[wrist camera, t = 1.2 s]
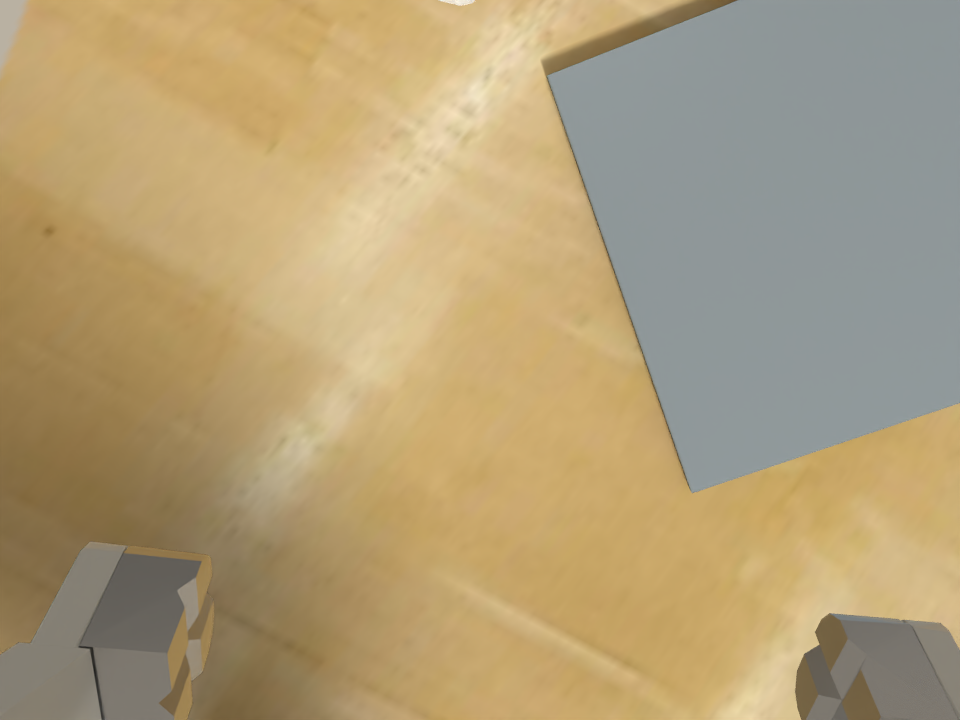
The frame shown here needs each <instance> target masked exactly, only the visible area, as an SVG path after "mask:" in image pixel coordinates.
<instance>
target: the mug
mask: <svg viewBox="0 0 960 720" xmlns="http://www.w3.org/2000/svg"><path fill="white" fill-rule="evenodd" d="M439 1H442V2H446V3H451V4H455V5H459V6H461V5H466V4H471V3H473V2H474V1H475V0H439Z"/></svg>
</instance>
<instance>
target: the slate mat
mask: <svg viewBox="0 0 960 720" xmlns="http://www.w3.org/2000/svg"><path fill="white" fill-rule="evenodd" d="M547 79H548V82H549V85H550V88H551V90H552V93H553V96H554V99H555V102H556V105H557V108H558V111H559V113H560V116H561V119H562V122H563V125H564V128H565V131H566V134H567V137H568V139H569V142H570V145H571V148H572V151H573V154H574V157H575V160H576V163H577V165H578V168H579V171H580V174H581V177H582V180H583V183H584V186H585V188H586V191H587V194H588V197H589V200H590V203H591V206H592V209H593V212H594V214H595V217H596V220H597V223H598V226H599V229H600V232H601V235H602V237H603V240H604V243H605V246H606V249H607V252H608V255H609V258H610V261H611V263H612V266H613V269H614V272H615V275H616V278H617V281H618V284H619V286H620V289H621V292H622V295H623V298H624V301H625V304H626V307H627V310H628V312H629V315H630V318H631V321H632V324H633V327H634V330H635V333H636V335H637V338H638V341H639V344H640V347H641V350H642V353H643V356H644V359H645V361H646V364H647V367H648V370H649V373H650V376H651V379H652V382H653V384H654V387H655V390H656V393H657V396H658V399H659V402H660V405H661V408H662V410H663V413H664V416H665V419H666V422H667V425H668V428H669V431H670V434H671V436H672V439H673V442H674V445H675V448H676V451H677V454H678V457H679V459H680V462H681V465H682V468H683V471H684V474H685V477H686V480H687V483H688V485H689V488H690V490H691V492H692V493H694V492H697V491H700V490H703V489H706V488H709V487H712V486H715V485H718V484H721V483H724V482H727V481H730V480H733V479H736V478H739V477H742V476H745V475H748V474H751V473H754V472H757V471H760V470H763V469H766V468H768V467H771V466H774V465H777V464H780V463H783V462H786V461H789V460H792V459H795V458H798V457H801V456H804V455H807V454H810V453H813V452H816V451H819V450H822V449H825V448H828V447H831V446H834V445H837V444H840V443H843V442H846V441H849V440H852V439H854V438H857V437H860V436H863V435H866V434H869V433H872V432H875V431H878V430H881V429H884V428H887V427H890V426H893V425H896V424H899V423H902V422H905V421H908V420H911V419H914V418H917V417H920V416H923V415H926V414H929V413H932V412H935V411H938V410H941V409H943V408H946V407H949V406H952V405H955V404H958V403H960V0H737V1H735V2H732V3H730V4H727V5H725V6H722V7H720V8H717V9H715V10H712V11H710V12H707V13H705V14H702V15H699V16H697V17H694V18H692V19H689V20H687V21H684V22H682V23H679V24H677V25H674V26H672V27H669V28H666V29H664V30H661V31H659V32H656V33H654V34H651V35H649V36H646V37H644V38H641V39H639V40H636V41H634V42H631V43H628V44H626V45H623V46H621V47H618V48H616V49H613V50H611V51H608V52H606V53H603V54H601V55H598V56H595V57H593V58H590V59H588V60H585V61H583V62H580V63H578V64H575V65H573V66H570V67H568V68H565V69H563V70H560V71H557V72H555V73H552V74H550V75H547Z"/></svg>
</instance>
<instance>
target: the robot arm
mask: <svg viewBox="0 0 960 720" xmlns="http://www.w3.org/2000/svg"><path fill="white" fill-rule="evenodd" d="M211 578H212V566H211V557H210V556H208V555H206V554H197V553H189V552H181V551H173V550H164V549H156V548H148V547H139V546H131V545H130V546H126V545H117V544H109V543H101V542H92V541H90V542H89V543H88V544H87V545H86V546H85V547H84V548H83V549H82V550H81V551H80V552H79V554H78V556H77V558H76V560H75V562H74V563H73V565H72V567H71V569H70V571H69V573H68V575H67V576H66V578H65V580H64V582H63V584H62V586H61V588H60V590H59V591H58V593H57V595H56V597H55V599H54V601H53V603H52V604H51V606H50V608H49V610H48V612H47V614H46V616H45V617H44V619H43V621H42V623H41V625H40V627H39V629H38V630H37V632H36V634H35V636H34V638H33V640H32V642H31V643H19V642H18V643H17V644H15V645H14V646H12V647H11V648H9V649H8V650H6V651H5V652H3V653H2V654H0V720H187V718H188V715H189V712H190V709H191V706H192V703H193V701H192V686H191V681H192V680H194V679H195V678H196V677H197V676H199V675H200V674H201V673H202V672H203V669H204V666H205V662H206V659H207V656H208V653H209V648H210V642H211V637H212V632H213V622H214V599H213V598H212V597H211V596H210V595H209V594H208V593H207V589H208V587H209V584H210V581H211ZM815 633H816V636H817V639H818V641H819V644H820V645H818V646H817V647H815V648H813V649H812V650H810V651H809V652H807V653H805V654H804V656H803V658H802V660H801V663H800V665H799V667H798V670H797V676H796V688H795V693H796V701H797V708H798V711H799V714H800V717H801V720H960V650H959V648H958V646H957V644H956V642H955V641H954V639H953V637H952V635H951V633H950V632H949V630H948V629H947V628H945V627H944V626H943V625H942V624H941V623H933V622H922V621H911V620H898V619H890V618H879V617H867V616H855V615H843V614H831V613H829V614H828V615H827V616H825V617H824V618H823V619H821V621H820V623H819V625H818V627H817V629H816V631H815Z"/></svg>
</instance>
